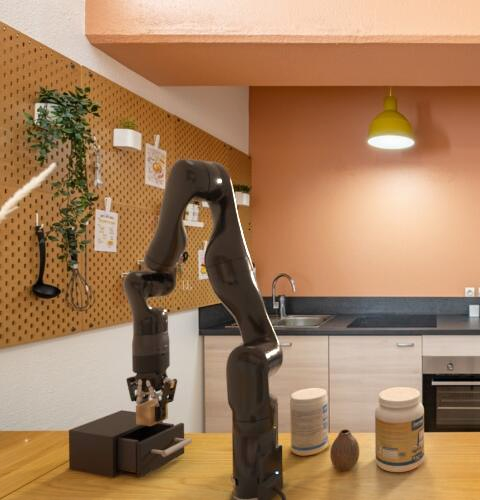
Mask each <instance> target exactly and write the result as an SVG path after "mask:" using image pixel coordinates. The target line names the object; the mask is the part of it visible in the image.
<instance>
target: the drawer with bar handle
mask: <svg viewBox="0 0 480 500" xmlns="http://www.w3.org/2000/svg"><path fill="white" fill-rule="evenodd" d="M192 442H193V440H192V438H191V437H188V438H186V439H185V423H184V422H180V423H176V424H174V423H169V422H163V423H162V422H159V423H157V424H154V425H152V426H144V427H142V428H140V429H138V430H135V431H133V432H131V433H128V434H126V435H124V436H121V437H119V438H117V439H116V469H118V470H123V471H125V472H130V473H133V474H134V473H135V474H136V475H137V476H136V477H137V478H143V477H145V476H146V475H148V474H150V473H152V472H153V471H156V470H157V469H159V468H161V467H162V466H164V465H166V464H168V463H170V462H171V461H173V460H175V459H177V458H178V457H181V456H182V455H184V454H185V447H186V446H188V445H190V444H192Z"/></svg>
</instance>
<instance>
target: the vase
mask: <svg viewBox="0 0 480 500" xmlns="http://www.w3.org/2000/svg"><path fill="white" fill-rule="evenodd" d="M329 453H330V456H329V457H330V462H331V464H332V467H334V468H335V470H337V471H339V472H348V471H350V470H352V469H353V468H354V467H355V466H356V465H357V463H358V461H359V459H360V444H359V442H358V440H357V438H356V437H355V436H354V435H353V434H352V433H351V430H349V429H347V428H344V429H341V430H340V431H339V432H338V435H337V436H336V438H335V439H334V440H333V443H332V444H331V447H330V451H329Z"/></svg>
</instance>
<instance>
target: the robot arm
mask: <svg viewBox="0 0 480 500" xmlns="http://www.w3.org/2000/svg"><path fill="white" fill-rule="evenodd" d="M191 202H198V203H199V202H205V203H207V205H208V208H209V211H210V216H211V221H212V222H211V223H212V224H211V226H212V227H211V231H210V236H209V238H208V241H207V245H206V248H205V251H204V256H203V263H204V268H205V271H206V274H207V278H208V281H209V284H210V287H211V290H212V292H213V294H214V296H215V297H217V299H218V300H219V302H220V303H221V304H222V305H223V306H224V308H225V309H226V310H227V311H228V312H229V313H230V315H231V316H232V317H233V319H234V320H235V323H236V325H237V327H238V329H239V332H240V336H241V340H242V343H241V344H240V345H238V346H236V347H234V348H233V349H232V350H231V351H230V353H229V355H228V357H227V360H226V365H225V380H226V395H227V404H228V406H229V408H230V410H231V433H232V434H231V439H232V440H231V443H232V444H231V446H232V447H231V448H232V450H231V451H232V452H231V453H232V474H230V482H231V484H232V500H271V499H273V497H275V496H276V495H278V496H279V497H280V498H281V500H287V498H286V495H285V493H284V491H283V490H282V489H284V474H283V473H284V471H283V470H284V469H283V468H284V467H283V463H284V462H283V461H284V460H283V459H284V457H283V444H281V443H279V400H278V397H277V396H276V395H274V394H272V393H271V392H270V383H269V381H270V380H269V378H271V377H272V376H274V375H275V374H276V373H277V372H279V370H280V369H281V367H282V365H283V362H284V352H283V348H282V345H281V343H280V340H279V338H278V336H277V334H276V333H277V332H276V331H275V329H274V326H273V324H272V321H271V319H270V317H269V315H268V312H267V308H266V305H265V302H264V299H263V296H262V292H261V289H260V286H259V283H258V281H257V280H258V279H257V275H256V272H255V267H254V265H253V262H252V259H251V255H250V252H249V250H248V247H247V244H246V243H247V242H246V240H245V237H244V233H243V229H242V226H241V222H240V217H239V213H238V209H237V203H236V197H235V192H234V186H233V183H232V179H231V176H230V174H229V171H228V170H227V168H226V167H225V166H224V165H223V164H222V163H220V162H217V161H213V160H204V159H196V158H195V159H194V158H180V159H178V160H176V161H174V163H173V164H172V165H171V167H170V169H169V171H168V174H167V177H166V181H165V186H164V190H163V195H162V198H161V204H160V208H159V215H158V220H157V224H156V226H155V227H156V228H155V231H154V233H153V236H152V238H151V240H150V242H149V245H148V247H147V249H146V251H145V253H144V255H143V263H144V266H145V267H146V268H148V269H145V270H144V269H143V270H141V269H139V270H132V271H130V272H128V273H127V274H126V275H125V277H124V278H123V282H122V289H123V293H124V295H125V298H126V300H127V304H128V306H129V309H130V313H131V317H132V333H133V334H132V341H131V356H132V357H131V361H132V363H131V365H132V369H131V371H132V372H133V373H134V374H135V375H132V376H129V377H127V378H126V385H127V389H128V393H129V398H130V401H131V402H133V403H134V402H135V403H136V405H139V404H141V403H144V402H147V401H149V400H150V398H151V399H154V403H155V406H156V407H155V421H156V422H160V421H162V420H164V419H165V417H166V404H167V403H168V404H170V403H172V402H174V399H175V394H176V390H177V385H178V379H177V378H173V379H171V378H170V377H169V375H168V374H167V370H168V369H169V367H170V365H171V364H170V363H171V361H170V360H171V359H170V358H171V357H170V355H171V354H170V351H171V350H170V334H169V320H168V319H169V315H168V310H167V309H166V308H164V307H157V306H150V305H149V303H148V301H147V299H148V300H149V299H158V298H165V297H168V296H170V295H171V294H173V292H174V291H175V289H176V287H177V274H178V267H179V263H180V261H181V259H182V258H183V255H184V253H185V251H186V249H187V246H188V238H189V237H188V232H187V229H186V226H185V223H184V214H185V211H186V210H187V208H188V206H189V205H190V204H191ZM159 399H160V400H161V401H160V400H159ZM164 421H165V420H164Z"/></svg>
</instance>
